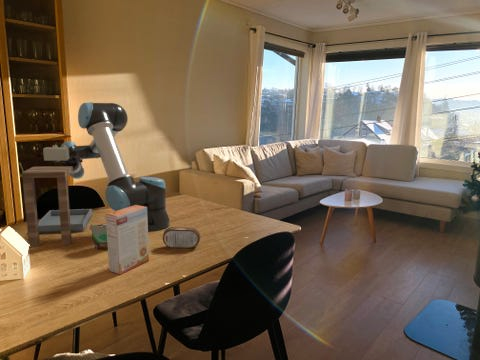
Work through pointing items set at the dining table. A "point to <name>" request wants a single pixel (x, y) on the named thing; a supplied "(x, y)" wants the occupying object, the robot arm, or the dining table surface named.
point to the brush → (56, 153)
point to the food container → (99, 236)
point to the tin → (181, 237)
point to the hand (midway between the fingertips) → (59, 147)
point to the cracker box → (127, 238)
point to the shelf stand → (30, 200)
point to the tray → (77, 221)
